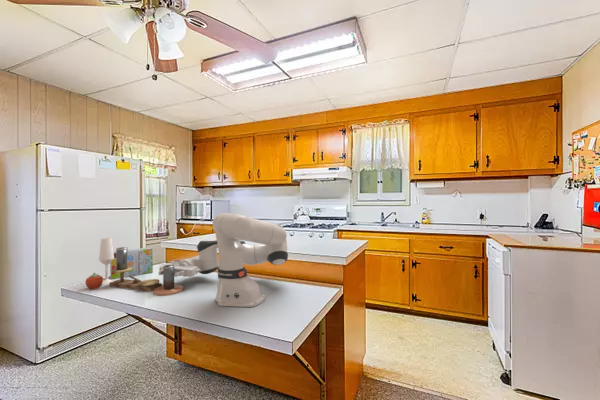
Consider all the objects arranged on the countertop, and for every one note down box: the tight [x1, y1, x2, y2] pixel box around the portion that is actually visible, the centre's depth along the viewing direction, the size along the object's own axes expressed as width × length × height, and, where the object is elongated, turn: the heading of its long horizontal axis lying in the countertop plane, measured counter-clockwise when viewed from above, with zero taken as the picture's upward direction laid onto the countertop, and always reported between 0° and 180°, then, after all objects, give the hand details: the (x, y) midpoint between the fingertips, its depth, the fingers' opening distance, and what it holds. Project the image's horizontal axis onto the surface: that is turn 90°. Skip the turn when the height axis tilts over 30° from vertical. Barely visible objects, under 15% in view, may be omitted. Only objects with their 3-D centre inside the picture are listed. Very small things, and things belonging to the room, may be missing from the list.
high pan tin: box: [115, 246, 129, 270], centre depth 150 cm, size 5×5×11 cm
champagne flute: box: [98, 237, 114, 285], centre depth 154 cm, size 7×7×24 cm
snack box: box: [109, 247, 154, 280], centre depth 169 cm, size 21×6×15 cm, turn 130°
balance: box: [108, 267, 163, 292], centre depth 147 cm, size 27×9×8 cm, turn 73°
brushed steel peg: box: [162, 264, 175, 290], centre depth 141 cm, size 5×5×11 cm
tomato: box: [84, 272, 104, 290], centre depth 145 cm, size 7×7×8 cm
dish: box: [153, 283, 184, 296], centre depth 141 cm, size 13×13×1 cm
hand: (167, 274), depth 140 cm, fingers open, 8 cm apart
